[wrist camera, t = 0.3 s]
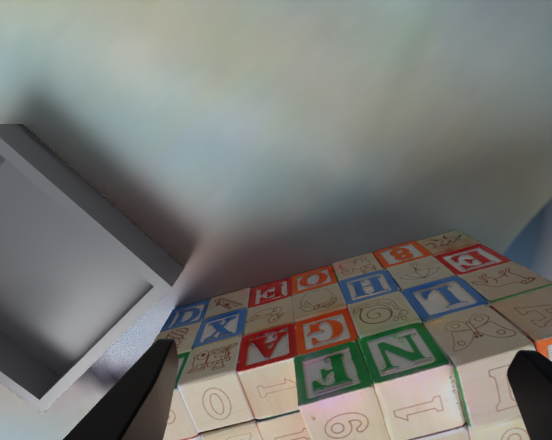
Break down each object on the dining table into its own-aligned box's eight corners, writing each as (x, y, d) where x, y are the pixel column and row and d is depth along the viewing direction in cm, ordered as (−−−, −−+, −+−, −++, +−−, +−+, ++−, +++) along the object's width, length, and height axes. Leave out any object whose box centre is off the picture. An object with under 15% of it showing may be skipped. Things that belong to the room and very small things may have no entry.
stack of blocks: (201, 375, 28) (142, 562, 16) (172, 306, 26) (83, 456, 14) (473, 304, 26) (637, 455, 14) (459, 226, 24) (629, 321, 13)
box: (66, 383, 28) (42, 413, 25) (-90, 265, 26) (-137, 283, 23) (184, 268, 25) (171, 286, 22) (22, 124, 23) (-16, 124, 20)
